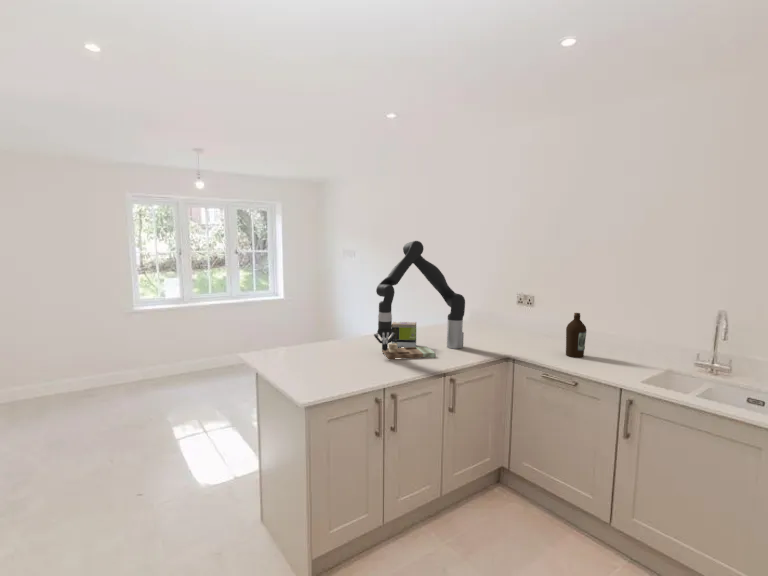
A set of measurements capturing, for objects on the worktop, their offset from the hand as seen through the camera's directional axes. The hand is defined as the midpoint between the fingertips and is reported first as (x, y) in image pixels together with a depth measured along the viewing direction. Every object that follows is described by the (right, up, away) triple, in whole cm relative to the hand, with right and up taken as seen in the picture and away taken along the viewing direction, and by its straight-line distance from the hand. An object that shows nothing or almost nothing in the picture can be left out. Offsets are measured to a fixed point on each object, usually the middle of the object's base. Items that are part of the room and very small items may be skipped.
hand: (384, 350), depth 237 cm
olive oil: (+110, -4, +7) cm, 110 cm away
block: (+5, -1, +1) cm, 5 cm away
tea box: (+12, -1, +24) cm, 27 cm away
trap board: (+13, -3, +4) cm, 14 cm away
